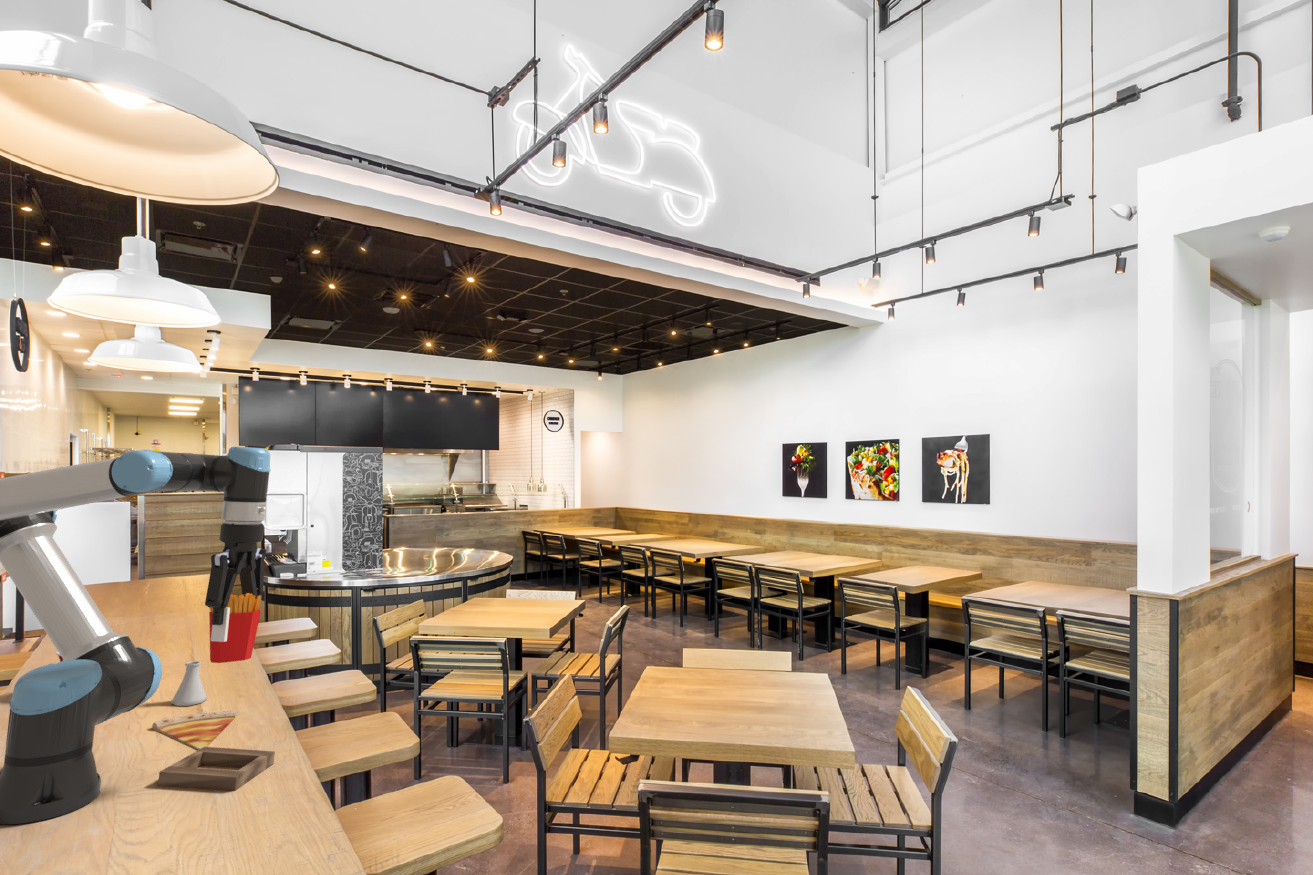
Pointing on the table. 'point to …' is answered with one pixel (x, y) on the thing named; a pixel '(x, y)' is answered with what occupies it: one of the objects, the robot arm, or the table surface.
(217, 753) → the fry holder
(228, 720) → the pizza slice
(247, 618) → the french fries
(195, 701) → the flask
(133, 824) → the table surface
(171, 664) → the table surface
